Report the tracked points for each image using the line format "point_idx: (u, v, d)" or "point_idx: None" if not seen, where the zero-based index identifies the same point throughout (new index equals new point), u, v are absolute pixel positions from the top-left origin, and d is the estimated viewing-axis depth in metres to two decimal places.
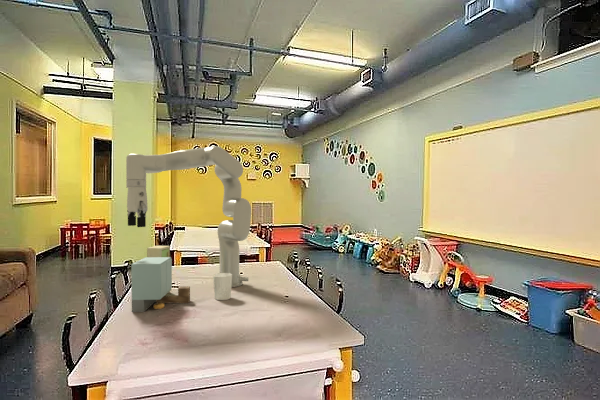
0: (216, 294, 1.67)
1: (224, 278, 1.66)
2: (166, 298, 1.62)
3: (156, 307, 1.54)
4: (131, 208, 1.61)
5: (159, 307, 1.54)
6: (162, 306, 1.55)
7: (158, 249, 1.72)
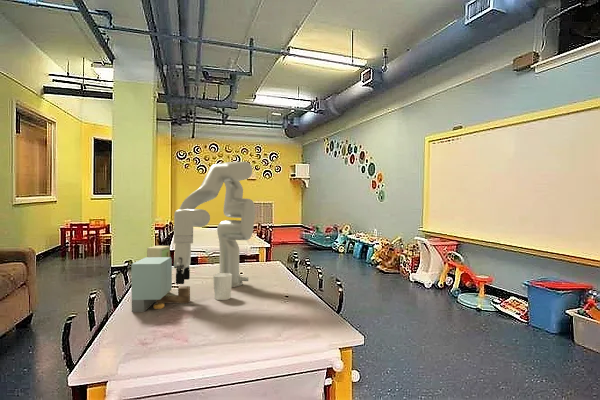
0: (216, 294, 1.67)
1: (224, 278, 1.66)
2: (166, 298, 1.62)
3: (156, 307, 1.54)
4: (188, 263, 1.64)
5: (159, 307, 1.54)
6: (162, 306, 1.55)
7: (158, 249, 1.72)
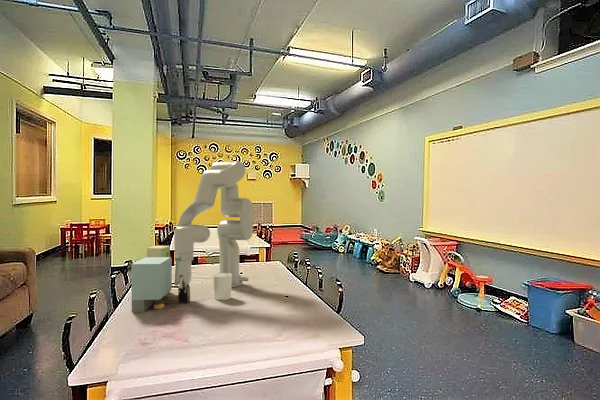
0: (216, 294, 1.67)
1: (224, 278, 1.66)
2: (166, 298, 1.62)
3: (156, 307, 1.54)
4: (189, 280, 1.64)
5: (159, 307, 1.54)
6: (162, 306, 1.55)
7: (158, 249, 1.72)
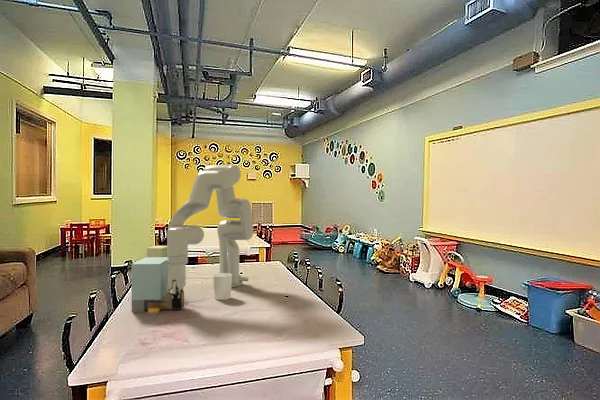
0: (216, 294, 1.67)
1: (224, 278, 1.66)
2: (158, 304, 1.52)
3: (150, 311, 1.48)
4: (183, 284, 1.54)
5: (153, 311, 1.48)
6: (157, 310, 1.49)
7: (158, 249, 1.72)
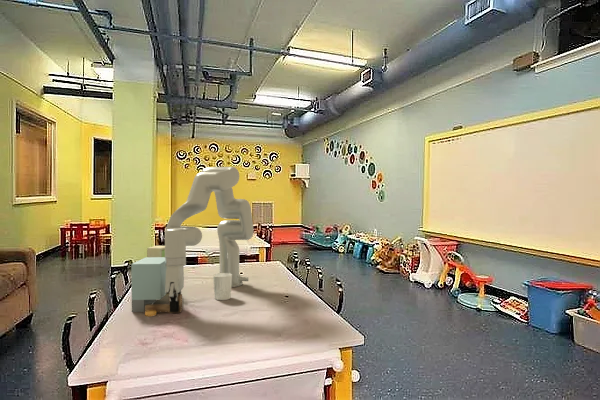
0: (216, 294, 1.67)
1: (224, 278, 1.66)
2: (156, 307, 1.48)
3: (147, 314, 1.44)
4: (181, 287, 1.50)
5: (150, 315, 1.45)
6: (154, 314, 1.45)
7: (158, 249, 1.72)
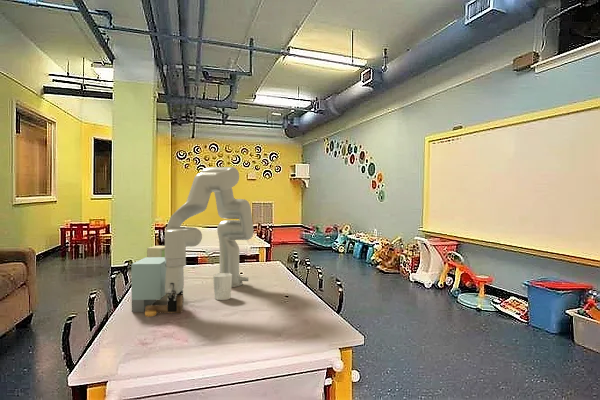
0: (216, 294, 1.67)
1: (224, 278, 1.66)
2: (156, 308, 1.48)
3: (147, 315, 1.44)
4: (181, 287, 1.50)
5: (150, 315, 1.44)
6: (154, 314, 1.45)
7: (158, 249, 1.72)
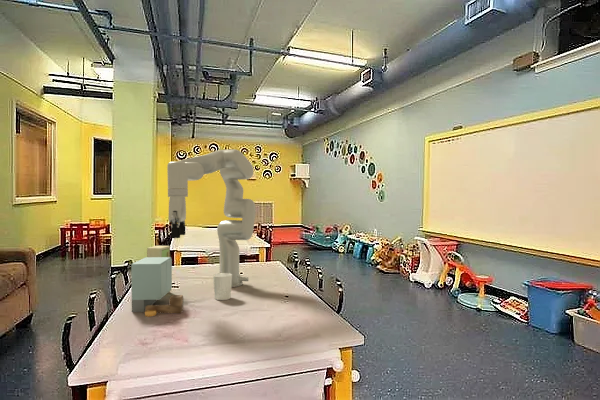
0: (216, 294, 1.67)
1: (224, 278, 1.66)
2: (156, 308, 1.48)
3: (147, 315, 1.44)
4: (184, 217, 1.58)
5: (150, 315, 1.44)
6: (153, 314, 1.45)
7: (158, 249, 1.72)
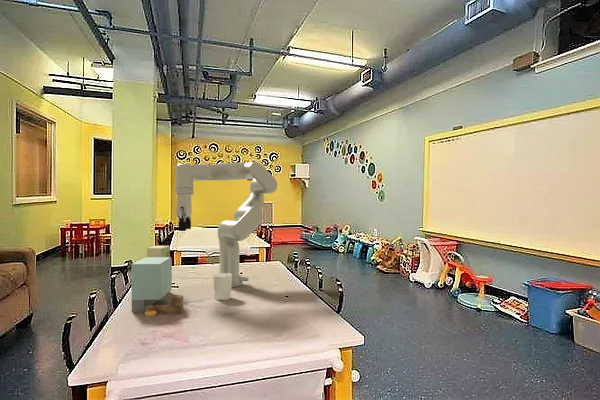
0: (216, 294, 1.67)
1: (224, 278, 1.66)
2: (156, 308, 1.48)
3: (147, 315, 1.44)
4: (190, 213, 1.79)
5: (150, 315, 1.44)
6: (153, 314, 1.45)
7: (158, 249, 1.72)
